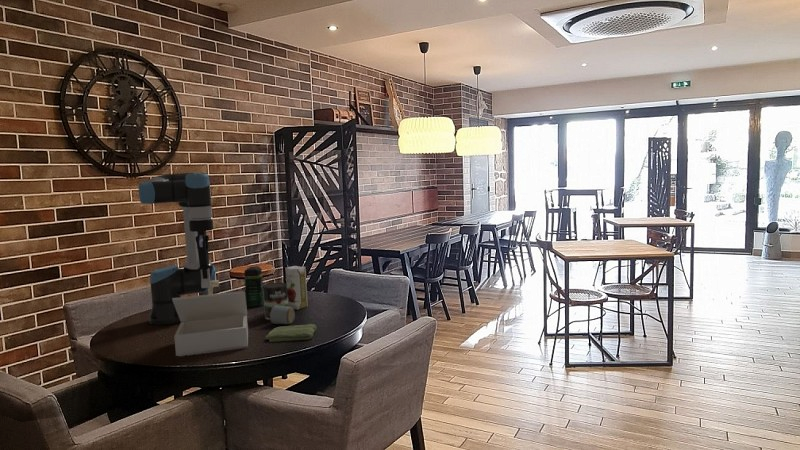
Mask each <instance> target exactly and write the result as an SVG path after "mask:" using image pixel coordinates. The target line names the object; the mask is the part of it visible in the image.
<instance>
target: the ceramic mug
mask: <svg viewBox="0 0 800 450" xmlns="http://www.w3.org/2000/svg"><path fill="white" fill-rule="evenodd" d="M295 316H296V313H295V309H293V308H291V307H287V306H279V305H275V306H273V308H272V309H271V313H270V319H271V320H270V322H271V324H273V325H291V324H292V323H293V322H294V320H295V319H296V317H295Z"/></svg>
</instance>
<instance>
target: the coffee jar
mask: <svg viewBox="0 0 800 450" xmlns="http://www.w3.org/2000/svg"><path fill="white" fill-rule="evenodd" d="M262 272H263V270H262V267H259V266H257V265H256V266H255V265H254V266H249V267H248V268H246V269H245V270H244V272H243V273H244V284H245V285H244V286H245V299H246V307H248V308H249V307H250V308H257V307H261V306H263V305H264V292H263V286H264V285H263V273H262Z"/></svg>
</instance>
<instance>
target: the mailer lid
mask: <svg viewBox="0 0 800 450" xmlns="http://www.w3.org/2000/svg"><path fill="white" fill-rule="evenodd" d="M210 284H211V287H210V288H208V292H207V294H201V295H199V294H198V295H190V296H181V297H179V298H172V301H173V303H174V306H175V308H176V311H177V314H178V316H179V319H180V321H181V322H186V321H195V320H204V319H213V318H222V317H231V316H240V315H248V309H247V305H246V290H242V291H231V292H222V293H214V289H213V287H214V288H217V287H220V280H219V279H216V280H213V281H210ZM201 287H202V282H201Z"/></svg>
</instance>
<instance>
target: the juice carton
mask: <svg viewBox="0 0 800 450" xmlns="http://www.w3.org/2000/svg"><path fill="white" fill-rule="evenodd" d="M285 282H286V284H287V297H288V307H291V308H293V309H294V310H301V309H304V308H308V305H309V304H308V289H307V272H306V266H297V265H292V266H289V267H285Z"/></svg>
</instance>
